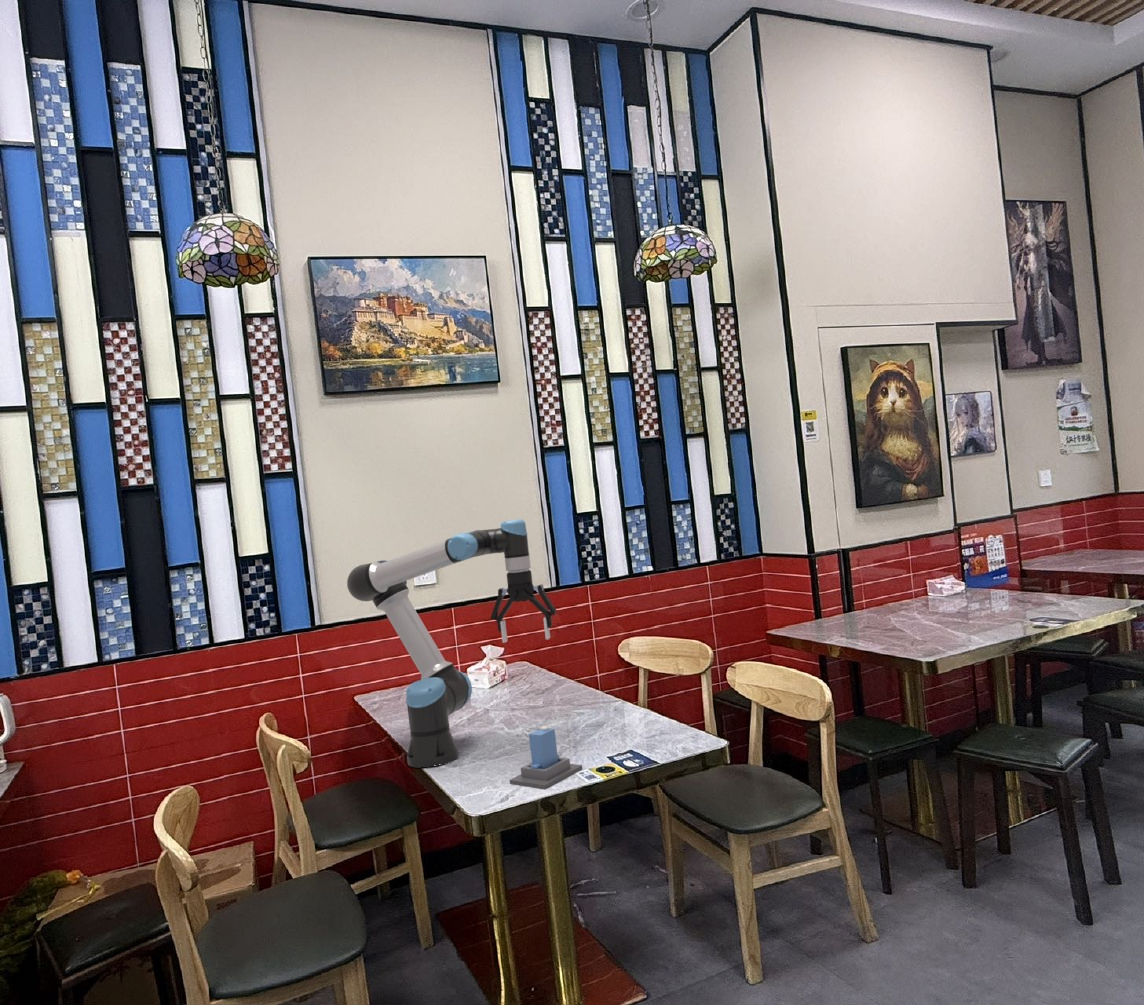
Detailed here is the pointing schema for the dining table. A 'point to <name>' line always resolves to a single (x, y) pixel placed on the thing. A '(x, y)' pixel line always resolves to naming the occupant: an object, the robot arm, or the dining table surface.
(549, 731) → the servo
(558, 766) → the chassis
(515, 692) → the dining table surface
